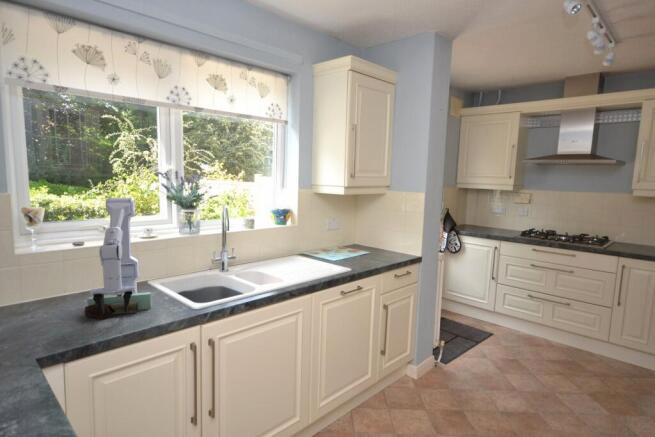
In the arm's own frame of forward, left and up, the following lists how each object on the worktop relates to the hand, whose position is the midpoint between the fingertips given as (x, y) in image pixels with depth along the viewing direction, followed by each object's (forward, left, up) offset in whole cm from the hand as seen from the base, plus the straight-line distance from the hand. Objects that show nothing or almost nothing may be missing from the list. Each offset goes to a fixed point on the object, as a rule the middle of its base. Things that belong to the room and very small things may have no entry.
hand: (114, 312), depth 139 cm
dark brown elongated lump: (-5, -2, -3) cm, 7 cm away
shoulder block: (-10, 0, -3) cm, 11 cm away
